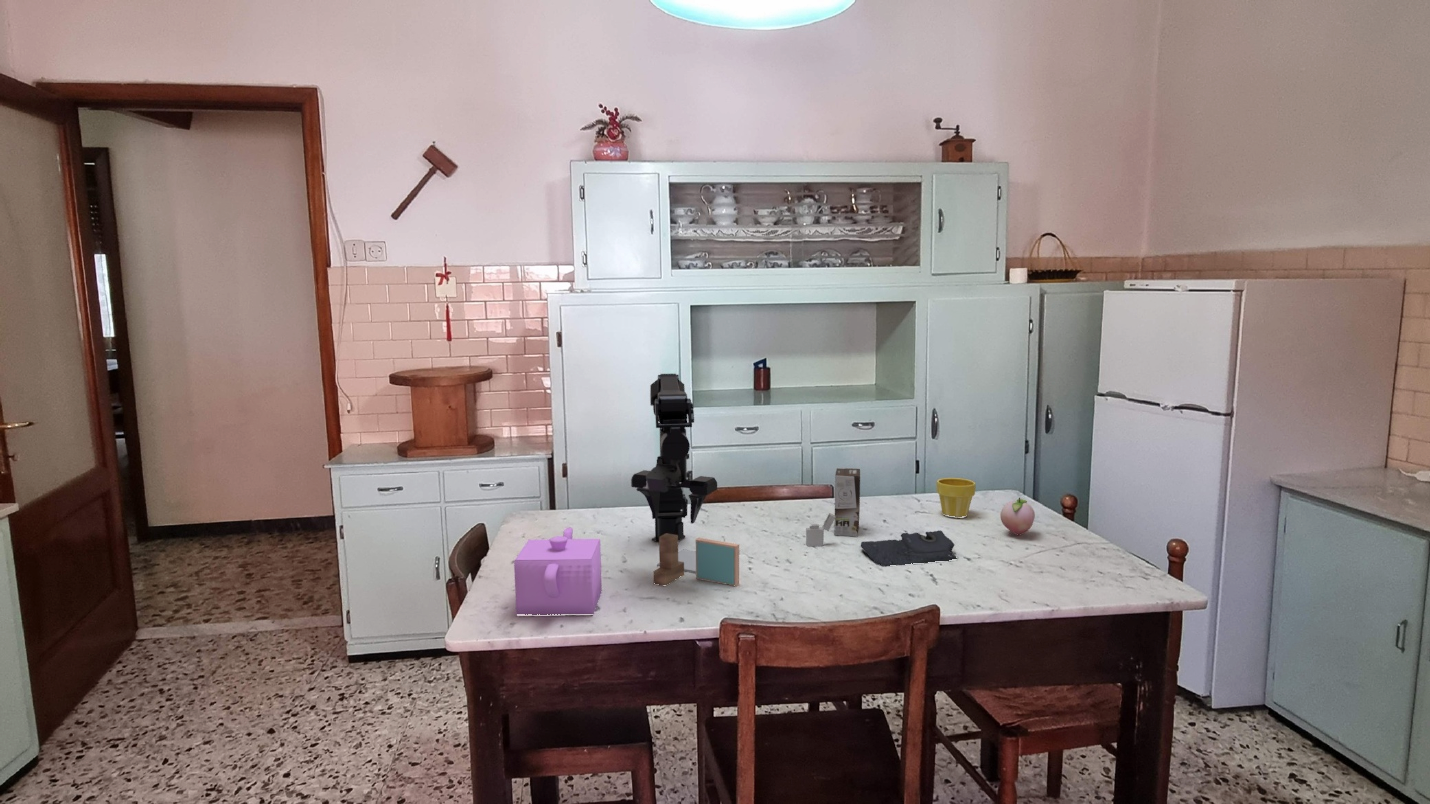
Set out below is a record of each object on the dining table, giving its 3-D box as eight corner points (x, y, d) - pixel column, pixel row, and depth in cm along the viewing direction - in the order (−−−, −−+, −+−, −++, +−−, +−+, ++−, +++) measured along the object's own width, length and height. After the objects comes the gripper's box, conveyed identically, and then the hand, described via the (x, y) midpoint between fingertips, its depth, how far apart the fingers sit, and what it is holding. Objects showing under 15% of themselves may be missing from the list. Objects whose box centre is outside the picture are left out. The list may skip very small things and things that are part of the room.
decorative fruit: (1001, 528, 214) (1003, 491, 213) (1034, 532, 211) (1036, 495, 209) (997, 538, 206) (999, 500, 204) (1031, 542, 202) (1033, 503, 201)
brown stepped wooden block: (653, 584, 175) (652, 540, 174) (672, 572, 182) (672, 530, 181) (665, 586, 174) (664, 542, 172) (684, 574, 181) (683, 532, 179)
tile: (695, 579, 178) (695, 539, 177) (699, 576, 180) (698, 537, 179) (735, 586, 174) (735, 546, 172) (739, 584, 175) (739, 544, 174)
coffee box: (858, 537, 207) (860, 476, 205) (833, 535, 209) (834, 475, 206) (859, 526, 216) (860, 468, 214) (835, 525, 217) (836, 467, 215)
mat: (657, 565, 187) (657, 563, 187) (683, 550, 197) (683, 549, 197) (702, 574, 181) (702, 572, 181) (726, 558, 191) (726, 556, 191)
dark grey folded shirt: (852, 548, 199) (853, 530, 199) (933, 542, 204) (934, 524, 204) (878, 569, 185) (879, 549, 184) (965, 562, 190) (966, 542, 189)
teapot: (605, 579, 178) (604, 518, 176) (589, 626, 154) (587, 556, 152) (537, 580, 178) (534, 519, 176) (510, 627, 154) (507, 557, 152)
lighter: (807, 546, 200) (807, 515, 199) (805, 544, 202) (806, 513, 201) (835, 545, 201) (835, 514, 200) (833, 543, 202) (834, 512, 201)
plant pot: (948, 508, 234) (949, 475, 232) (981, 515, 226) (982, 481, 225) (928, 515, 227) (929, 481, 225) (961, 523, 219) (962, 488, 218)
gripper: (616, 454, 171) (618, 525, 173) (694, 461, 163) (695, 535, 166) (643, 445, 181) (644, 512, 183) (718, 451, 173) (718, 522, 175)
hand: (674, 520), depth 177 cm, fingers open, 9 cm apart
